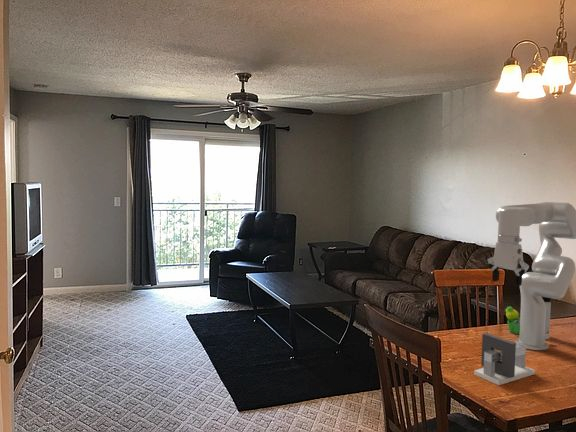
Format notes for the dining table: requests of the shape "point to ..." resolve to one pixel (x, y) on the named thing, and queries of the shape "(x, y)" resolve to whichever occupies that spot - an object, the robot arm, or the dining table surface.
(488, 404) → the dining table surface
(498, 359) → the grey square bar
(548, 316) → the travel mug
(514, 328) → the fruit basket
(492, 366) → the stand
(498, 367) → the collar
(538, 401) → the dining table surface
